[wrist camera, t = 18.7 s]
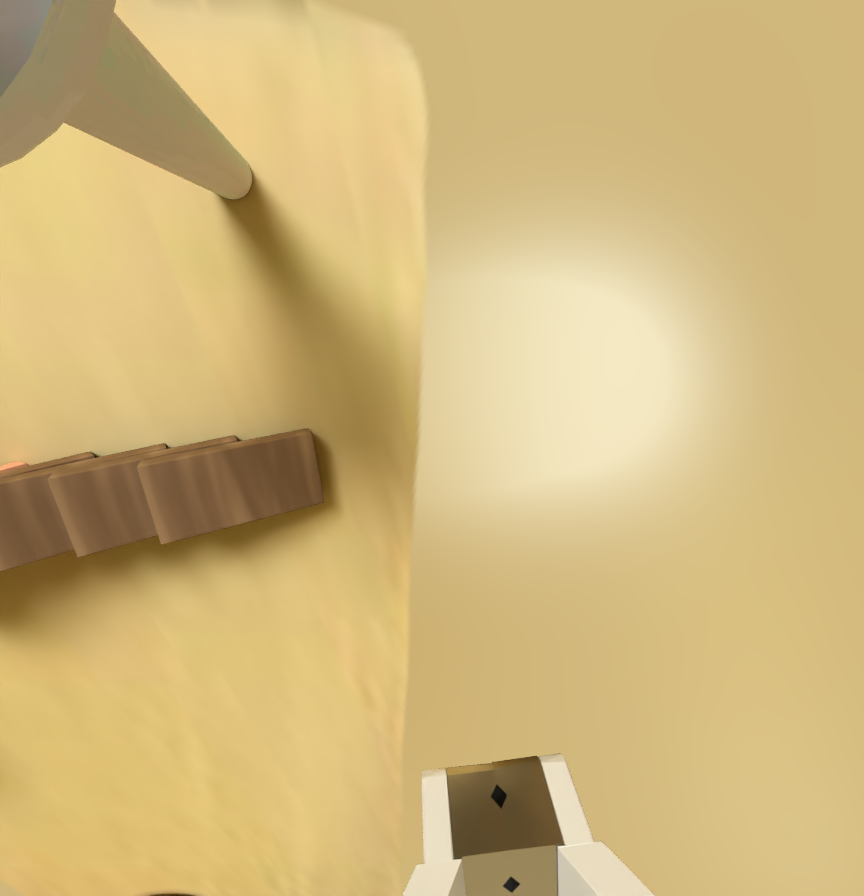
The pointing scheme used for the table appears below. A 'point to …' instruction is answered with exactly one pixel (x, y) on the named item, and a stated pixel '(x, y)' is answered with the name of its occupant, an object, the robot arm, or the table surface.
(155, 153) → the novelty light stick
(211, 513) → the domino
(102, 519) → the domino
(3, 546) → the domino
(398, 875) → the table surface
